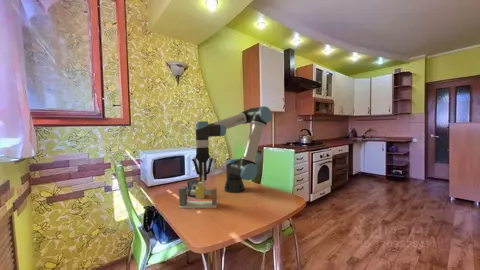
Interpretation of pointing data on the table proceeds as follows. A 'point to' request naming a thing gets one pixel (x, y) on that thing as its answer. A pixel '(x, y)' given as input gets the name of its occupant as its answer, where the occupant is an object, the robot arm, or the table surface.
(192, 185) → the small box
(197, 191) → the sleeve
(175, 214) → the table surface
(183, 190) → the rail
